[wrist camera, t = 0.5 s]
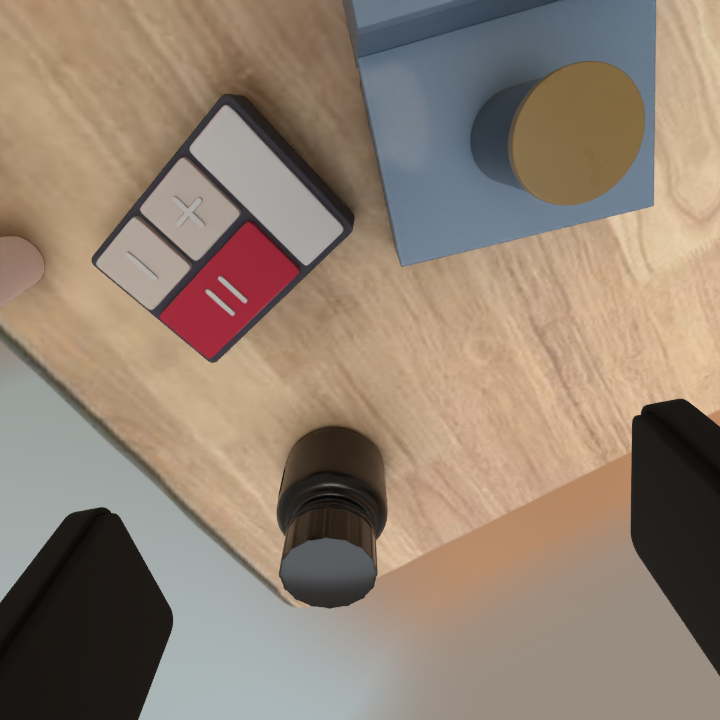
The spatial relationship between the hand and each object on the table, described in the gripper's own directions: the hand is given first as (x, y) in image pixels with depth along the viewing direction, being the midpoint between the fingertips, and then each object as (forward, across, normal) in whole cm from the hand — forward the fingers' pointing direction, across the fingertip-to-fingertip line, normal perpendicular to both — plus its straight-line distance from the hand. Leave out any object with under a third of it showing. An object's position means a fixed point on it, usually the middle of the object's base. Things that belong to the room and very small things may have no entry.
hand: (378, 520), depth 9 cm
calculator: (+30, +9, -2) cm, 31 cm away
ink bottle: (+30, +7, +20) cm, 36 cm away
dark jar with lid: (+24, -10, -4) cm, 27 cm away
